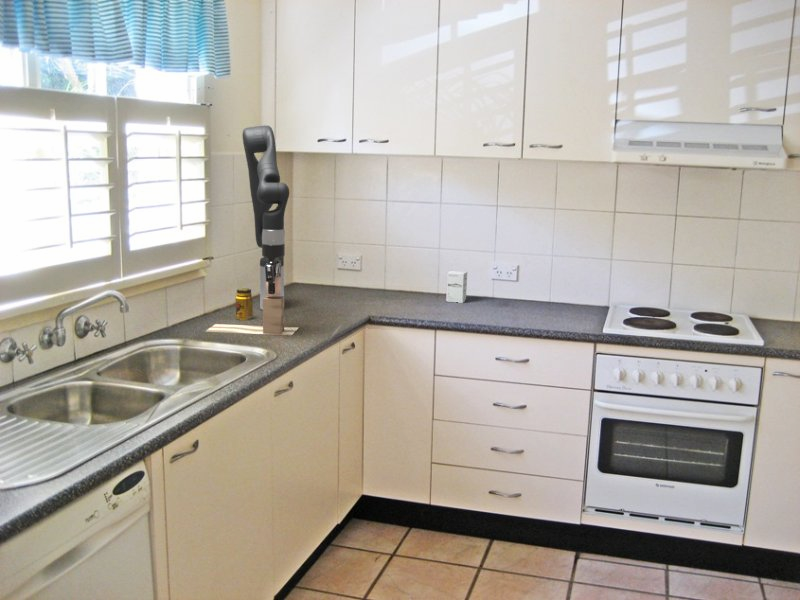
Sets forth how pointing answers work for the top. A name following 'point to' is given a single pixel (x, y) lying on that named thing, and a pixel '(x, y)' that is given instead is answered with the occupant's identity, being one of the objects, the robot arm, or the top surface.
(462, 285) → the supplement box
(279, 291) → the terracotta capsule
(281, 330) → the walnut block bottom
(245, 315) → the condiment
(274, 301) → the walnut block top
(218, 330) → the birch board
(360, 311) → the top surface
